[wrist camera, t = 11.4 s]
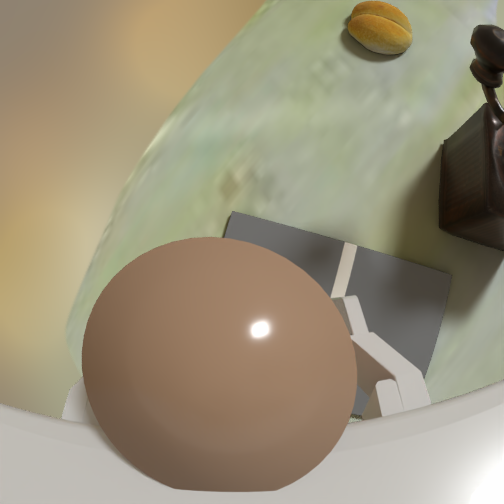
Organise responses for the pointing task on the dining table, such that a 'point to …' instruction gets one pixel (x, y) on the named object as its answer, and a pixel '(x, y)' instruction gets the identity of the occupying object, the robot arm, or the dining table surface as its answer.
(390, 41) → the bread roll
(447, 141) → the manual coffee grinder
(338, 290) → the throwing lane
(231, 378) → the terracotta jar
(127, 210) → the dining table surface
